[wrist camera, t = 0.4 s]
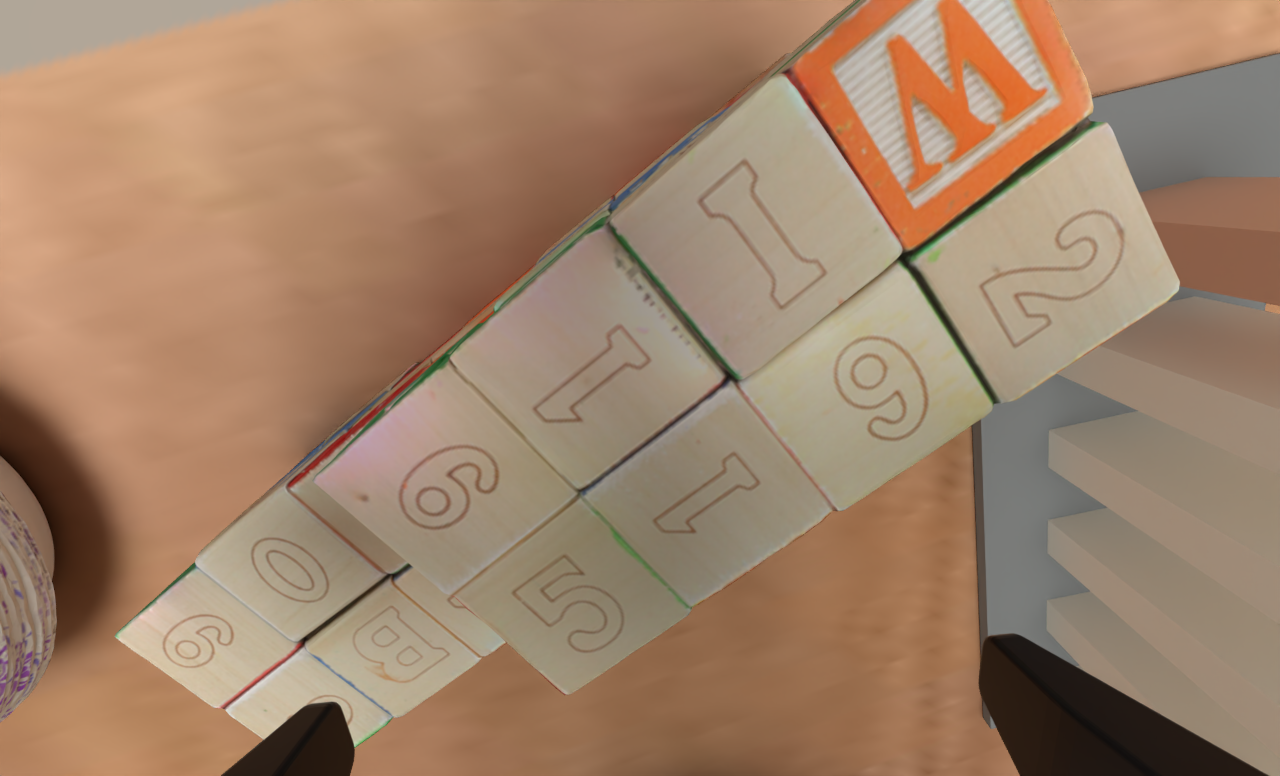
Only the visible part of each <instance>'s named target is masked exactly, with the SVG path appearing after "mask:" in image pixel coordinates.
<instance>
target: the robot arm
mask: <svg viewBox="0 0 1280 776" xmlns="http://www.w3.org/2000/svg"><path fill="white" fill-rule="evenodd" d="M979 689H980V694H981V696H982V699H983V701H984V704H985V706H986V708H987V710H988V712H989V714H990V716H991V718H992V720H993V722H994V724H995V726H996V728H997V730H998V732H999V734H1000V736H1001V738H1002V740H1003V742H1004V744H1005V746H1006V748H1007V750H1008V752H1009V754H1010V756H1011V758H1012V760H1013V762H1014V764H1015V766H1016V768H1017V770H1018V772H1019V774H1020V776H1269V775H1267V774H1265V773H1264V772H1262V771H1260V770H1258V769H1257V768H1255V767H1253V766H1251V765H1250V764H1248V763H1246V762H1244V761H1242V760H1241V759H1239V758H1237V757H1235V756H1234V755H1232V754H1230V753H1228V752H1227V751H1225V750H1223V749H1221V748H1219V747H1218V746H1216V745H1214V744H1212V743H1211V742H1209V741H1207V740H1205V739H1204V738H1202V737H1200V736H1198V735H1196V734H1195V733H1193V732H1191V731H1189V730H1188V729H1186V728H1184V727H1182V726H1181V725H1179V724H1177V723H1175V722H1174V721H1172V720H1170V719H1168V718H1166V717H1165V716H1163V715H1161V714H1159V713H1158V712H1156V711H1154V710H1152V709H1151V708H1149V707H1147V706H1145V705H1143V704H1142V703H1140V702H1138V701H1136V700H1135V699H1133V698H1131V697H1129V696H1128V695H1126V694H1124V693H1122V692H1120V691H1119V690H1117V689H1115V688H1113V687H1112V686H1110V685H1108V684H1106V683H1105V682H1103V681H1101V680H1099V679H1097V678H1096V677H1094V676H1092V675H1090V674H1089V673H1087V672H1085V671H1083V670H1082V669H1080V668H1078V667H1076V666H1074V665H1073V664H1071V663H1069V662H1067V661H1066V660H1064V659H1062V658H1060V657H1059V656H1057V655H1055V654H1053V653H1051V652H1050V651H1048V650H1046V649H1044V648H1043V647H1041V646H1039V645H1037V644H1036V643H1034V642H1032V641H1030V640H1028V639H1027V638H1025V637H1023V636H1021V635H1019V634H1014V633H1009V634H999V635H990V636H988V637H986V638H985V640H984V641H983V645H982V654H981V663H980V672H979ZM354 753H355V749H354V743H353V739H352V737H351V734H350V731H349V728H348V725H347V722H346V719H345V716H344V713H343V710H342V708H341V706H340V705H339V704H338V703H337V702H322V703H312V704H308V705H306V706H304V707H303V708H301V709H300V710H299V711H297V712H296V713H295V714H294V715H293V716H291V717H290V718H289V719H288V720H287V721H285V722H284V723H283V724H282V725H281V726H280V727H278V728H277V729H276V730H275V731H274V732H272V733H271V734H270V735H269V736H268V737H266V738H265V739H264V740H263V741H262V742H260V743H259V744H258V745H257V746H256V747H254V748H253V749H252V750H251V751H250V752H249V753H247V754H246V755H245V756H244V757H243V758H241V759H240V760H239V761H238V762H237V763H235V764H234V765H233V766H232V767H231V768H229V769H228V770H227V771H226V772H225V773H223V774H222V775H221V776H350V773H351V770H352V766H353V762H354Z"/></svg>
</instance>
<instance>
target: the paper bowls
mask: <svg viewBox="0 0 1280 776" xmlns="http://www.w3.org/2000/svg"><path fill="white" fill-rule="evenodd" d="M53 572H54V545H53V539H52V534H51V531H50V528H49V525H48V521H47V519H46V517H45V515H44V512H43V510H42V508H41V506H40V504H39V502H38V501H37V499H36V497H35V496H34V494H33V493H32V491H31V490H30V488H29V487H28V486H27V484H26V483H25V482H24V480H23V479H22V478H21V477H20V475H19V474H18V473H17V472H16V471H15V470H14V469H13V467H11V466H10V465H9V464H8V463H7V462H6V461H5V460H4V459H3V458H2V457H1V456H0V722H1V721H3V720H4V719H5V718H6V717H7V716H8V715H10V714H11V713H12V712H13V711H14V710H15V709H16V707H17V706H18V705H19V704H20V703H22V702H23V701H24V700H25V699H26V698H27V697H28V696H29V695H30V693H31V692H32V691H33V690H34V688H35V687H36V685H37V684H38V682H39V680H40V679H41V678H42V676H43V674H44V672H45V671H46V669H47V667H48V664H49V662H50V659H51V656H52V653H53V650H54V640H55V635H56V626H57V617H56V599H55V592H54V587H53V583H52V577H53Z"/></svg>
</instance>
